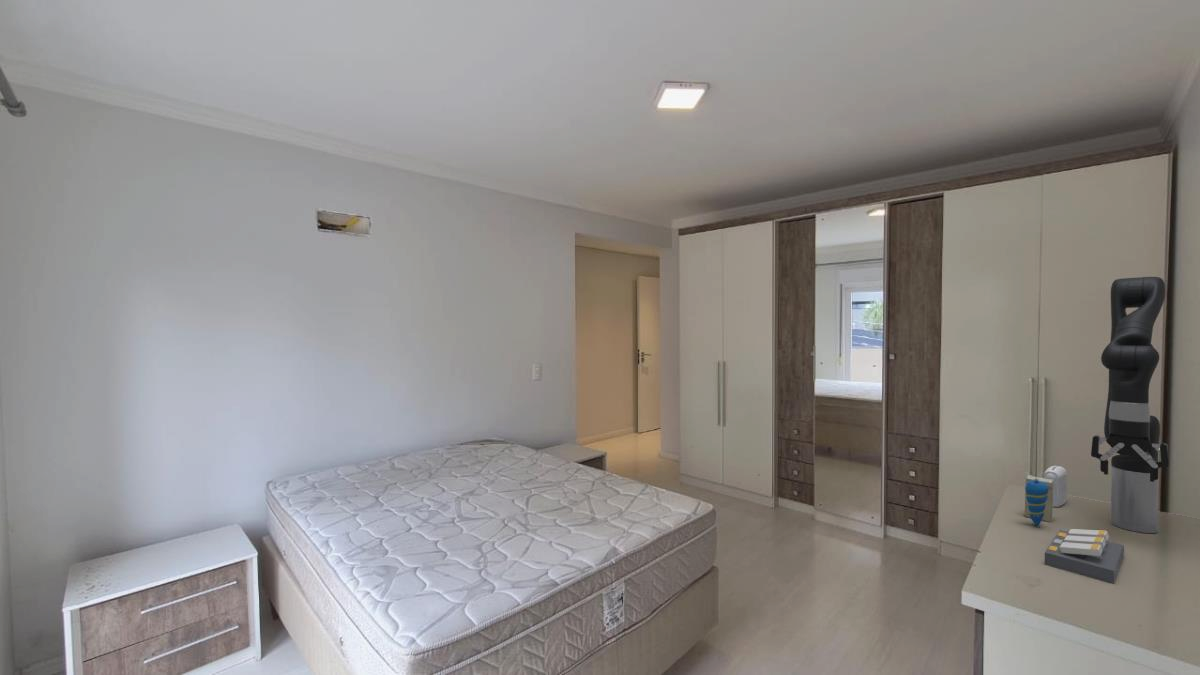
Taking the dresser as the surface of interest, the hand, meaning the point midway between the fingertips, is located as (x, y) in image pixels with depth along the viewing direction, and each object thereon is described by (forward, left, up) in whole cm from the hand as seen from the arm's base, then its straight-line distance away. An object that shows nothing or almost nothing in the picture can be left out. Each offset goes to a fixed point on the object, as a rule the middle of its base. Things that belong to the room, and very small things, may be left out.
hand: (1128, 477), depth 132 cm
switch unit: (+23, -6, -18) cm, 29 cm away
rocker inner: (+17, -6, -13) cm, 22 cm away
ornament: (+6, -18, -18) cm, 26 cm away
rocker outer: (+29, -6, -13) cm, 32 cm away
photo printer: (-22, -18, -18) cm, 34 cm away
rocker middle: (+23, -6, -13) cm, 27 cm away
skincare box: (-3, -19, -18) cm, 26 cm away
